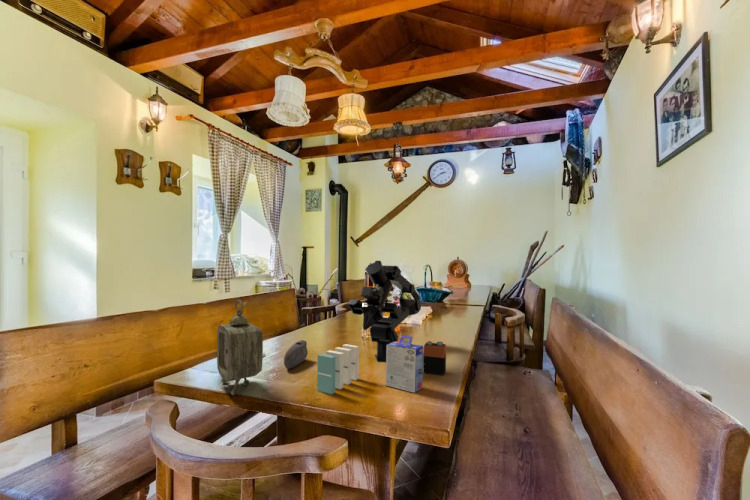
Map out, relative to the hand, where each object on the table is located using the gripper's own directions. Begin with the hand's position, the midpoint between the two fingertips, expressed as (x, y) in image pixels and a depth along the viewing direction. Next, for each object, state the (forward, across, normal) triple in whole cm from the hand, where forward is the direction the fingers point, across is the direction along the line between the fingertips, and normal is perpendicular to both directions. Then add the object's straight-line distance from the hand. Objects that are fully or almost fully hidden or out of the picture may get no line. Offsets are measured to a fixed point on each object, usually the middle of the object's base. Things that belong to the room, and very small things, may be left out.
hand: (364, 329), depth 110 cm
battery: (+2, +21, +17) cm, 27 cm away
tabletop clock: (+31, -23, -12) cm, 41 cm away
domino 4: (+15, 0, +4) cm, 16 cm away
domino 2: (+21, 0, -2) cm, 21 cm away
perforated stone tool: (+15, -23, +4) cm, 28 cm away
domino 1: (+24, 0, -5) cm, 24 cm away
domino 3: (+18, 0, +1) cm, 18 cm away
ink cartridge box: (+14, +17, +6) cm, 23 cm away
